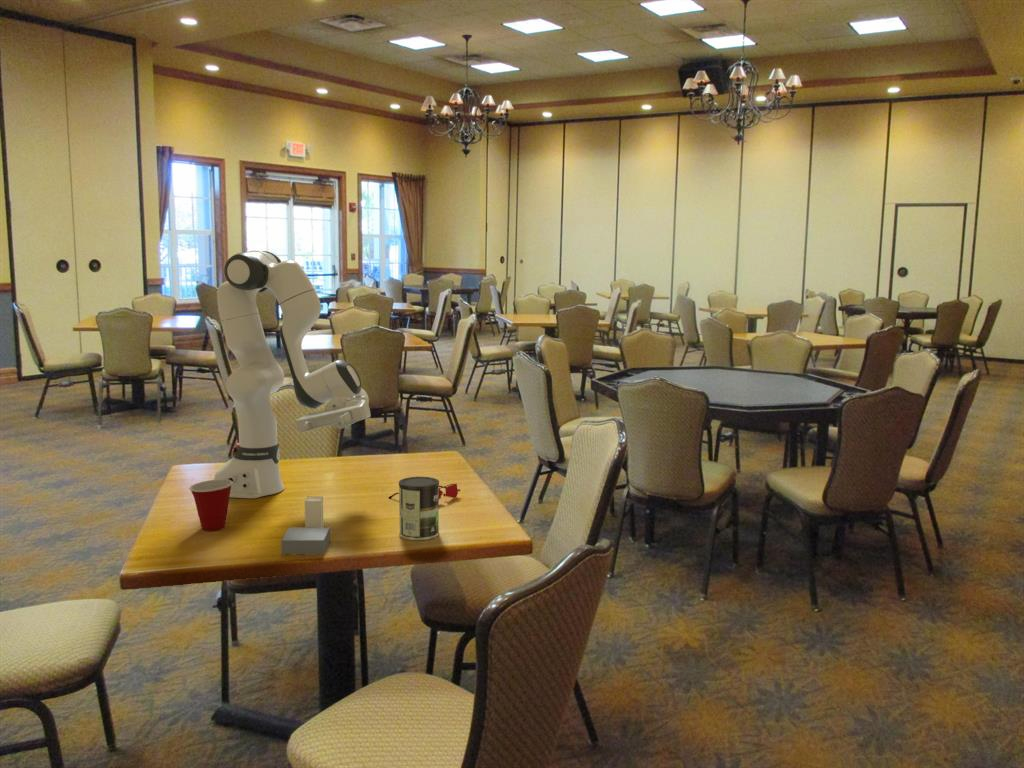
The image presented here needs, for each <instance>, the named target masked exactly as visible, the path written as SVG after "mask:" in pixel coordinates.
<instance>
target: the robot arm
mask: <svg viewBox="0 0 1024 768" xmlns="http://www.w3.org/2000/svg"><path fill="white" fill-rule="evenodd" d="M223 272H224V277H225V279H226V281H224V282H222V283H221V284H220V285H219V286H218V287H217V290H216V301H217V302H216V303H217V309H218V315H219V319H220V320H219V321H220V322H221V323H220V324H221V327H222V331H223V335H224V339H225V342H226V343H225V344H226V346H227V348H228V349H229V350H230V351H231V352H232V354H233V355H234V357H235V359H236V360H237V363H238V365H239V367H237V368H236V369H235V370H234V371H232V372H231V373H230V374H229V376H228V378H227V380H226V384H225V385H226V391H227V394H228V395H229V396H230V398H231V399H232V401H233V405H234V410H235V412H236V415H237V418H236V419H237V425H238V442H237V443H236V444H234V445H233V447H232V450H231V455H232V456H233V457H232V458H231V459H229V460H228V461H227V462H225V463H224V464H223V465H222V466H220V467H219V468H218V469H217V470H216V472H215V474H214V477H213V480H218V479H226V480H231V481H233V484H232V485H231V490H230V496H229V498H236V499H237V498H238V499H258V498H261V497H265V496H271V495H276V494H278V493H280V492H283V490H284V489H285V486H284V484H283V480H282V476H281V471H280V465H279V464H280V458H281V456H280V446H279V445H280V444H279V443H278V425H277V424H278V422H277V416H276V415H275V413H274V410H273V409H272V404H271V395H274V394H275V393H277V391H278V390H279V389H280V388H281V386H282V385H283V384H284V381H285V372H284V370H283V368H282V366H281V365H280V364H279V363H278V362H277V360H276V358H275V356H274V354H273V351H272V350H271V347H270V345H269V344H268V343H269V342H268V340H267V338H266V334H265V332H264V328H263V323H262V320H261V316H260V312H259V308H258V305H257V294H258V293H263V292H265V291H266V290H268V289H269V290H270V291H271V292H272V294H273V296H275V299H276V300H277V303H278V305H279V308H280V310H281V315H282V324H281V325H280V327H279V334H280V335H279V336H280V339H281V344H282V347H283V351H284V354H285V358H286V361H287V365H288V368H289V371H290V375H291V377H292V384H293V390H294V393H295V397H296V400H297V401H298V403H299V404H301V405H302V406H303V407H306V408H310V409H317V408H319V407H320V406H322V405H324V408H323V410H321V411H317V412H312V413H308V414H305V415H303V416H300V417H299V418H298V419H296V420H295V424H296V429H297V431H298V432H299V433H302V432H307V431H313V430H317V429H323V428H327V427H332V428H335V429H345V428H348V427H349V426H350V425H353V424H355V423H358V422H360V421H364V420H367V419H369V418H371V415H372V414H371V409H370V405H369V402H370V399H369V395H368V393H367V391H366V390H364V389H363V388H362V382H361V378H360V376H359V374H358V372H357V370H356V369H355V367H354V366H353V365H352V364H350V363H348V362H347V361H345V360H342V359H337V360H335V361H333V362H330V363H328V364H326V365H324V366H322V367H320V368H319V369H316V370H314V371H311V372H310V371H309V369H308V366H307V363H306V362H307V361H306V359H305V356H304V351H303V347H302V342H303V340H304V337H305V336H306V334H307V333H308V332H309V331H310V330H311V329H312V328H313V326H314V325H315V324H316V323H317V321H318V319H319V318H320V316H321V313H322V304H321V300H320V297H319V296H318V293H317V291H316V289H315V287H314V285H313V284H312V282H311V280H310V278H309V276H308V275H307V273H306V272H305V271H304V269H303V267H302V266H301V265H300V264H299V263H298V262H296V261H294V260H281V259H280V258H279V256H278V255H276V254H274V253H272V252H270V251H266V250H250V251H246V252H245V251H243V252H237V253H235V254H233V255H232V256H231V257H229V258H228V259H227V261H226V262H225V265H224V270H223Z"/></svg>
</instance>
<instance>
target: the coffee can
mask: <svg viewBox="0 0 1024 768" xmlns="http://www.w3.org/2000/svg"><path fill="white" fill-rule="evenodd" d="M398 486H399V489H398V490H399V492H398V493H399V494H398V496H399V498H398V499H399V508H398V509H399V536H401V537H400V538H402V539H404V538H405V540H408V541H426V540H432V539H434V538H437V537H438V536H439V535H440V534H439V533H440V532H439V528H440V527H439V519H440V518H439V510H440V509H439V503H440V502H439V500H440V499H439V488H440V487H439V486H440V481H439V480H438V479H437V478H435V477H430V476H409V477H405V478H402V479H400V480H399V481H398Z"/></svg>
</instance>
